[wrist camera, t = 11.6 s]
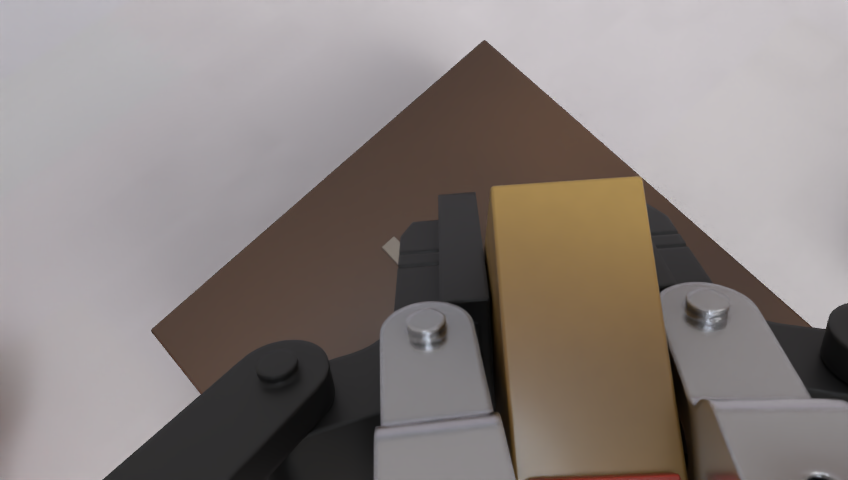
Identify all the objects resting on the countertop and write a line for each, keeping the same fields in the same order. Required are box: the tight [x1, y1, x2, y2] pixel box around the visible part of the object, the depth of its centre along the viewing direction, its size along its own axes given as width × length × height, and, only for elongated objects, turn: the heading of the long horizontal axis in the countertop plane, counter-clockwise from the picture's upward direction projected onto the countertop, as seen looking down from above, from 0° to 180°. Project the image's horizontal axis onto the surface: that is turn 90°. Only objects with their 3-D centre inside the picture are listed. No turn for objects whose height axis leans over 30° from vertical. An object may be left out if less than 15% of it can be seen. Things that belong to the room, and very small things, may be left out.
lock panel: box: [151, 40, 813, 394], centre depth 14 cm, size 13×10×3 cm
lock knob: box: [484, 176, 688, 480], centre depth 10 cm, size 4×2×6 cm, turn 3°
